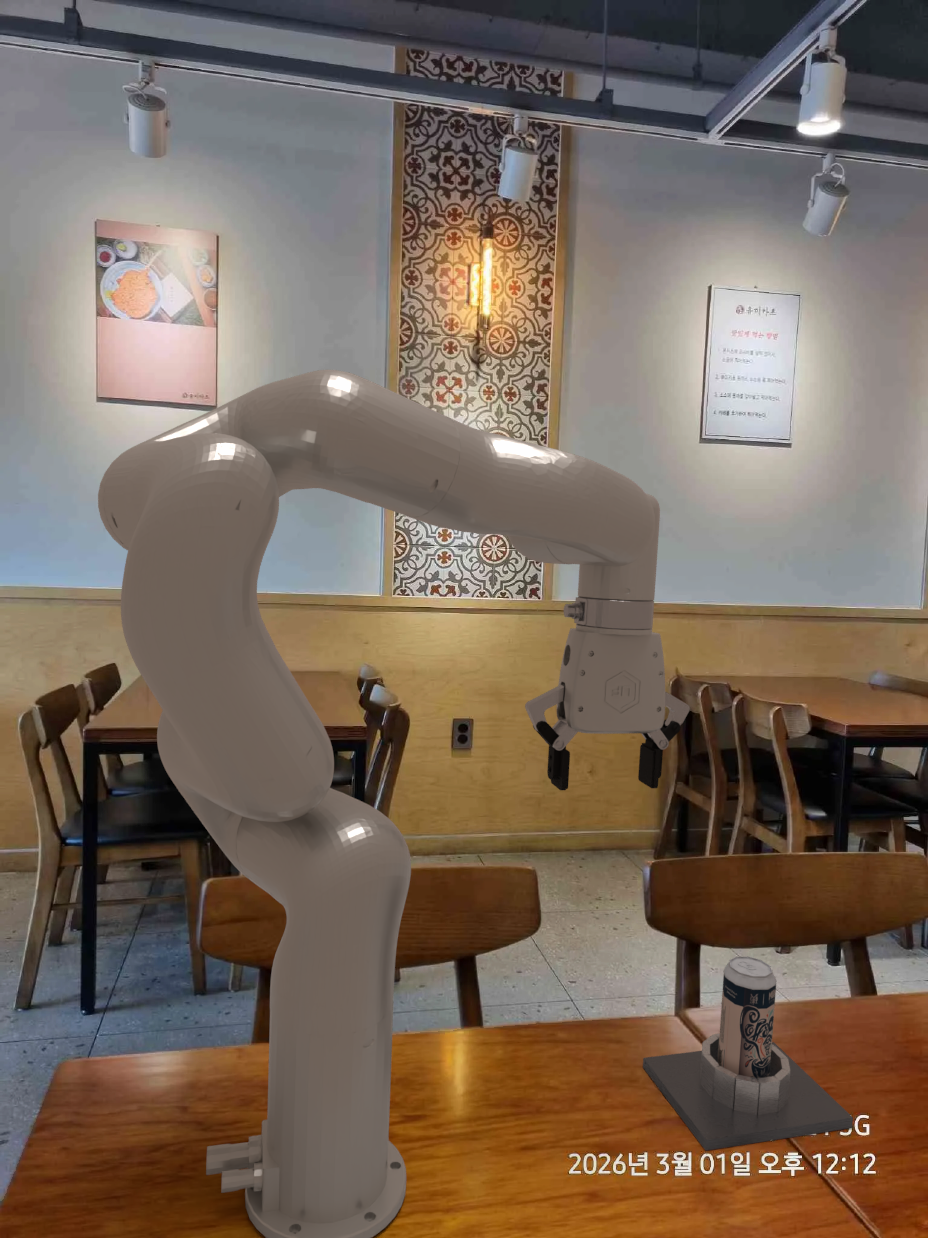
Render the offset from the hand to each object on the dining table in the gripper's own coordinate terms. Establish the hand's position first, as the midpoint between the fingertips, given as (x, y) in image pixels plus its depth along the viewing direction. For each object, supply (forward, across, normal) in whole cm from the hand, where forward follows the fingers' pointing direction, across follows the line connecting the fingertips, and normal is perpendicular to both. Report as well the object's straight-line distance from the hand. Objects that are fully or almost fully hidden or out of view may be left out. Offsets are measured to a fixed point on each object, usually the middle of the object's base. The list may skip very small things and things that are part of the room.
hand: (604, 785), depth 85 cm
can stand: (+28, +12, -10) cm, 32 cm away
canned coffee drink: (+27, +12, -10) cm, 31 cm away
